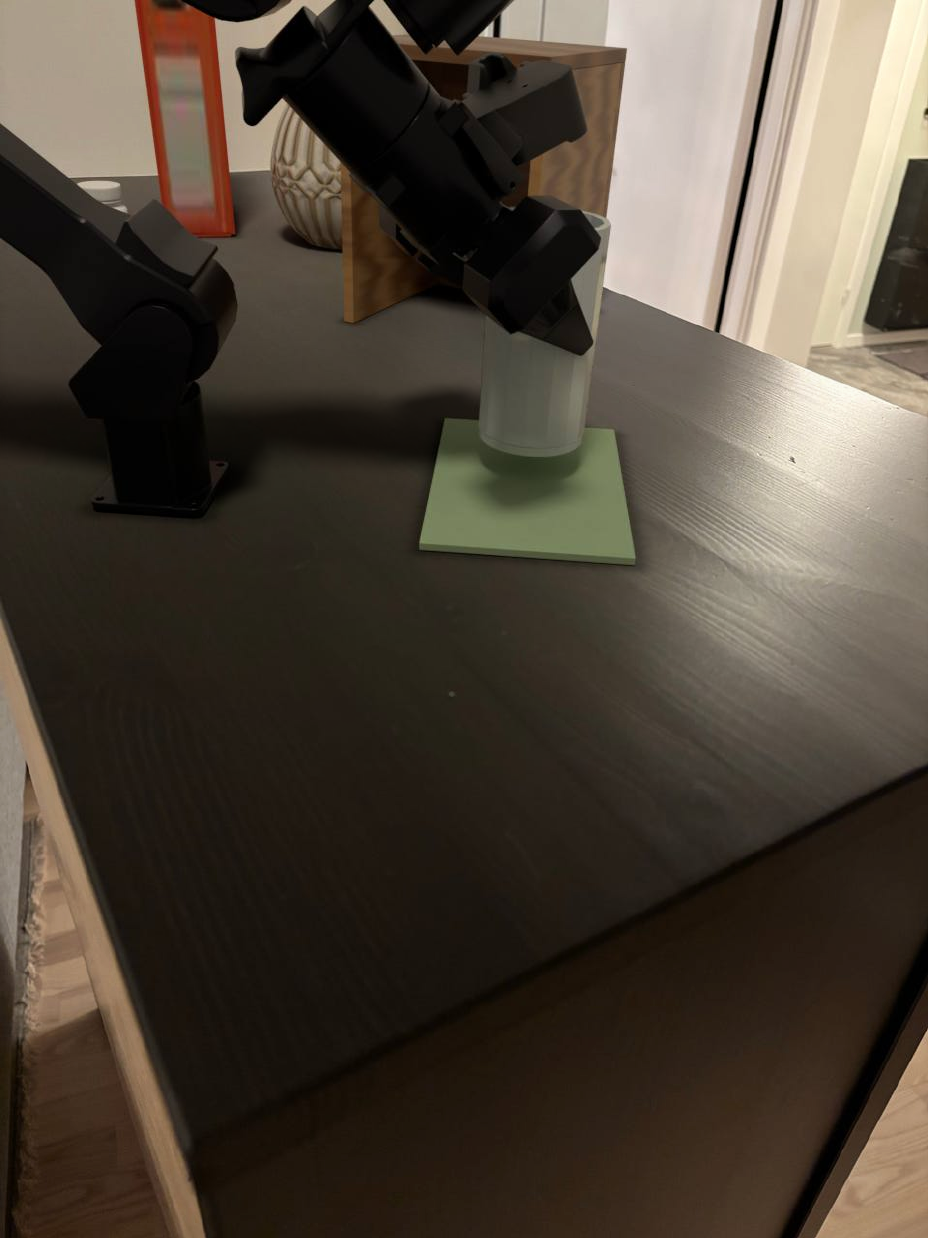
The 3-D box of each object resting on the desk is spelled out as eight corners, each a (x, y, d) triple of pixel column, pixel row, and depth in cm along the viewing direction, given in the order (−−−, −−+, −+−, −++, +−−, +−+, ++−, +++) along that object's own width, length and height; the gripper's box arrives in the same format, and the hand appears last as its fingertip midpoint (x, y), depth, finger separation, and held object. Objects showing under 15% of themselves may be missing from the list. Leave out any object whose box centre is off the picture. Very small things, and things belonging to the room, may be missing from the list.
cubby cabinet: (525, 359, 80) (551, 56, 68) (344, 321, 86) (336, 37, 74) (595, 310, 93) (627, 47, 80) (432, 280, 99) (439, 32, 87)
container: (533, 466, 57) (556, 237, 49) (456, 431, 60) (467, 213, 53) (603, 439, 61) (634, 222, 53) (526, 407, 64) (546, 201, 57)
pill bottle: (122, 283, 93) (108, 190, 88) (77, 278, 94) (61, 185, 89) (145, 271, 97) (133, 181, 92) (102, 266, 98) (87, 177, 93)
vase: (249, 247, 107) (232, 39, 96) (312, 220, 119) (304, 34, 108) (380, 265, 103) (379, 50, 92) (431, 235, 116) (436, 43, 104)
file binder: (163, 237, 109) (119, -115, 91) (164, 205, 123) (126, -106, 105) (235, 236, 111) (206, -109, 93) (229, 205, 124) (202, -101, 106)
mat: (634, 565, 53) (636, 558, 52) (418, 550, 53) (419, 542, 53) (613, 435, 68) (614, 428, 67) (444, 424, 68) (444, 417, 68)
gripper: (588, 2, 39) (752, 269, 49) (434, -14, 53) (585, 195, 63) (402, 212, 41) (596, 428, 51) (301, 142, 55) (468, 322, 65)
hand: (560, 330), depth 57 cm, fingers closed on container, 6 cm apart
